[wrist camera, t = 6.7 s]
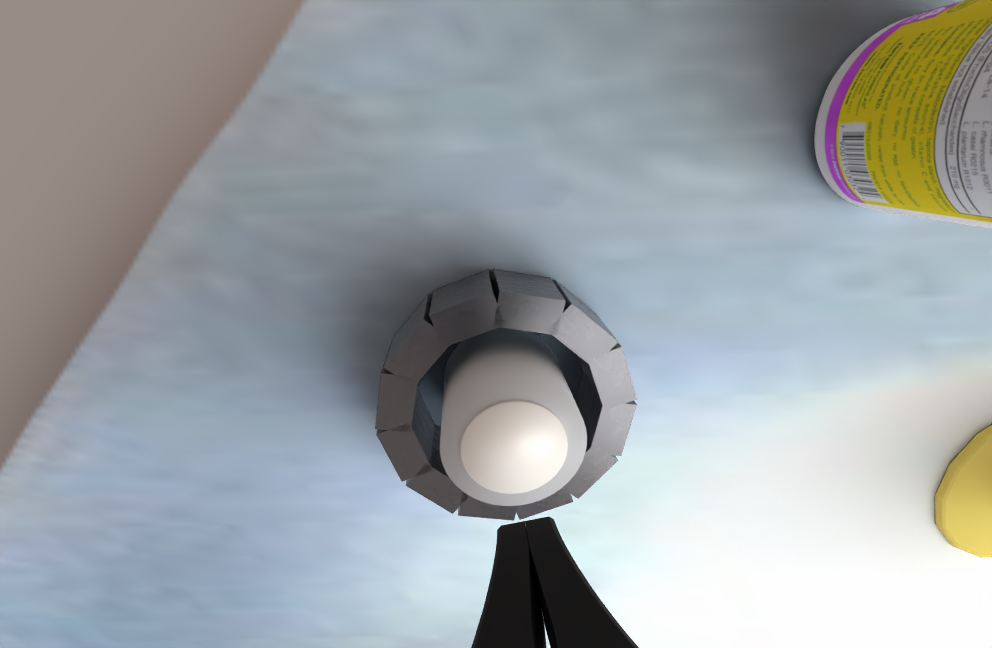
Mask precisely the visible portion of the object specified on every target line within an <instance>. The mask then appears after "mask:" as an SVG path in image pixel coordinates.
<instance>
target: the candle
mask: <svg viewBox="0 0 992 648" xmlns="http://www.w3.org/2000/svg"><path fill="white" fill-rule="evenodd" d="M935 523H936V525H937V526H938V528H939V529H940V530H941V532H942V533H943V535H944V536H945V538H946V539H947V541H948V542H949V543H950V544H951V545H952V546H954V547H957V548H959V549H962V550H964V551H966V552H969V553H971V554H974V555H976V556H979V557H992V425H990V426H989V427H987V428H985V429H984V430H982V431H981V432H979V433H978V434H977V435H976V436H975V437H974V438H973V439H972V440H971V441H970V442H969V443H968V444H967V446H966V447H965V448H964V449H963V450H962V451H961V452H960V453H959V454H958V455H957V457H956V458H955V459H954V460H953V461H952V462H951V463H950V464H949V466H948V468H947V471H946V473H945V475H944V477H943V479H942V482H941V484H940V486H939V488H938V490H937V493H936V495H935Z"/></svg>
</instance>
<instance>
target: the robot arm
mask: <svg viewBox="0 0 992 648" xmlns="http://www.w3.org/2000/svg"><path fill="white" fill-rule="evenodd" d="M525 524H526V525H525ZM542 614H543V615H542ZM543 619H544V620H543ZM544 624H545V628H546V631H547V635H548V639H549V643H550V646H551V648H639V647H638V646H637V645H636V644H635V643H634V642H633V640H632V639H631V638H630V637H629V636H628V635H627V633H626V632H625V631H624V630H623V629H622V627H621V626H620V625H619V624H618V622H617V621H616V620H615V618H614V617H613V616H612V615H611V613H610V612H609V611H608V609H607V608H606V607H605V605H604V604H603V603H602V601H601V600H600V599H599V597H598V596H597V594H596V593H595V592H594V590H593V589H592V587H591V586H590V584H589V583H588V581H587V580H586V578H585V577H584V575H583V574H582V572H581V571H580V569H579V568H578V566H577V564H576V563H575V561H574V559H573V558H572V556H571V554H570V553H569V551H568V549H567V547H566V545H565V544H564V542H563V540H562V538H561V536H560V534H559V531H558V529H557V527H556V524H555V521H554V519H552V518H550V517H544V518H539V519H534V520H529V521H523V522H518V523H513V524H508V525H502V526H500V528H499V529H498V530H497V545H496V553H495V559H494V565H493V570H492V575H491V579H490V584H489V588H488V592H487V596H486V601H485V604H484V608H483V612H482V615H481V618H480V622H479V625H478V628H477V631H476V635H475V638H474V641H473V644H472V647H471V648H546V638H545V628H544Z"/></svg>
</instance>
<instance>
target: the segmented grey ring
mask: <svg viewBox="0 0 992 648" xmlns="http://www.w3.org/2000/svg"><path fill="white" fill-rule="evenodd" d="M499 327H501V328H508V329H516V330H523V331H530V332H537V333H544V334H551V335H553V336H554V337H555V338H556V339H558V340H559V341H560V342H562V343H563V344H564V345H565V346H567V347H568V348H569V349H570V350H572V351H573V352H574V353H576V354H577V355H578V356H579V358H580V361H581V364H582V367H583V370H584V372H583V376H582V380H581V383H580V387H579V391H578V395H577V399H576V405H577V407H578V409H579V411H580V414H581V416H582V418H583V420H584V424H585V427H586V433H587V446H586V452H585V455H584V458H583V461H582V463H581V465H580V467H579V469H578V471H577V472H576V474H575V475H574V476H573V477H572V479H571V480H570V481H569V482H568V483H567V484H566V485H565V486H563V487H562V488H561V489H560V490H558V491H557V492H555V493H554V494H552V495H550V496H548V497H546V498H544V499H542V500H539V501H536V502H533V503H530V504H525V505H517V506H500V505H493V504H489V503H485V502H482V501H479V500H477V499H475V498H473V497H471V496H469V495H467V494H466V493H464V492H463V491H462V490H460V489H459V488H458V487H457V486H456V485H455V484H454V483H453V481H452V480H451V479H450V478H449V476H448V474H447V473H446V471H445V469H444V466H443V464H442V460H441V456H440V435H441V428H440V427H438V426H437V425H435V424H434V422H433V420H432V418H431V416H430V414H429V412H428V410H427V408H426V405H425V403H424V401H423V399H422V397H421V395H420V393H419V391H418V383H419V380H420V379H421V378H422V377H423V376H424V375H425V373H426V372H427V371H428V370H429V369H430V368H431V366H432V365H433V364H434V363H435V362H436V361H437V359H438V358H439V357H440V356H441V355H442V354H443V352H444V351H445V350H446V349H447V348H448V347H449V345H452V344H455V343H458V342H460V341H463V340H466V339H469V338H471V337H474V336H477V335H480V334H482V333H485V332H488V331H490V330H493V329H496V328H499ZM636 399H637V398H636V394H635V391H634V388H633V384H632V381H631V377H630V374H629V370H628V367H627V364H626V360H625V357H624V353H623V350H622V347H621V345H620V344H619V343H618V341H617V340H616V338H615V337H614V336H613V335H612V333H611V332H610V331H609V330H608V328H607V327H606V326H605V324H604V323H603V322H602V321H601V319H600V318H599V317H598V316H597V314H596V313H594V312H593V311H592V310H591V309H589V308H588V307H587V306H586V305H585V304H583V303H582V302H581V301H580V300H579V299H577V298H576V297H575V296H574V295H573V294H571V293H570V292H569V291H568V290H567V289H565V288H564V287H563V286H562V285H561V284H559V283H558V282H557V281H555V282H554V283H553V281H552V280H551V278H547V277H540V276H534V275H528V274H521V273H515V272H508V271H502V270H495V269H494V272H493V277H492V279H491V277H490V274H489V272H488V270H486V271H484V272H481V273H478V274H476V275H473V276H470V277H467V278H465V279H462V280H459V281H457V282H454V283H451V284H449V285H446V286H443V287H441V288H438V289H435V290H433V296H431V295H430V294H428V295H427V296H426V298H425V299H424V300H423V301H422V302H421V304H420V305H419V306H418V307H417V309H416V310H415V311H414V312H413V313H412V315H411V316H410V317H409V318H408V320H407V321H406V322H405V323H404V324H403V326H402V327H401V328H400V329H399V331H398V332H397V333H396V334H395V335H394V338H393V341H392V343H391V346H390V349H389V352H388V354H387V357H386V360H385V363H384V366H383V369H382V372H381V379H380V388H379V398H378V407H377V417H376V426H375V429H378V431H377V434H376V435H377V436H378V438H379V440H380V442H381V444H382V446H383V448H384V449H385V451H386V453H387V455H388V457H389V459H390V460H391V462H392V464H393V466H394V468H395V470H396V472H397V473H398V475H399V477H400V479H401V481H405V480H407V481H406V486H407V487H409V488H411V489H412V490H414V491H416V492H417V493H419V494H421V495H422V496H424V497H426V498H427V499H429V500H431V501H432V502H434V503H436V504H437V505H439V506H441V507H442V508H444V509H446V510H447V511H449V512H451V513H452V514H453V513H454V512H455V511H456V510H457V509H458V515H459V516H470V517H481V518H492V519H503V520H514V518H515V514H516V512H517V514H518V517H519V519H520V520H521V519H524V518H526V517H529V516H532V515H535V514H538V513H541V512H544V511H547V510H550V509H553V508H556V507H559V506H562V505H565V504H568V503H571V502H573V499H572V496H571V494H572V495H574V496H575V497H576V498H579V497H580V496H582V495H583V494H584V493H585V492H586V491H587V490H588V489H589V488H590V487H591V486H592V485H593V484H594V483H595V482H596V481H597V480H598V479H599V478H600V477H601V476H602V475H603V474H605V473H606V472H607V471H608V470H609V469H610V468H611V467H612V466H613V465H614V464H615V463H616V462H617V461H618V460H617V458H616V456H615V455H617V456H621V454H622V451H623V448H624V445H625V441H626V438H627V435H628V432H629V428H630V425H631V422H632V419H633V416H634V412H635V409H636V406H637V404H636V403H635V402H634V400H636Z"/></svg>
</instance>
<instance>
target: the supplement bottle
mask: <svg viewBox="0 0 992 648" xmlns="http://www.w3.org/2000/svg"><path fill="white" fill-rule="evenodd" d="M814 143H815V153H816V159H817V162H818V165H819V168H820V171H821V173H822V175H823V177H824V179H825V180H826V182H827V183H828V185H829V186H830V187H831V188H832V189H833V190H834V191H835V192H836V193H837V194H838V195H839V196H841V197H842V198H843V199H845V200H846V201H848V202H850V203H852V204H854V205H857V206H860V207H863V208H867V209H872V210H877V211H884V212H890V213H896V214H902V215H909V216H915V217H922V218H928V219H935V220H941V221H947V222H954V223H960V224H967V225H973V226H979V227H986V228H992V0H964V1H960V2H957V3H953V4H950V5H947V6H943V7H940V8H936V9H933V10H929V11H926V12H923V13H920V14H917V15H914V16H911V17H908V18H905V19H902V20H900V21H897V22H895V23H893V24H891V25H889V26H887V27H885V28H883V29H882V30H880V31H879V32H877V33H875V34H874V35H873V36H871V37H870V38H869V39H867V40H866V41H865V42H864V43H862V44H861V45H860V46H859V47H858V48H857V49H856V50H854V51H853V53H852V54H851V55H850V56H849V57H848V58H847V59H846V60H845V62H844V63H843V64H842V65H841V66H840V68H839V69H838V71H837V72H836V74H835V75H834V77H833V78H832V80H831V82H830V83H829V85H828V87H827V90H826V92H825V95H824V97H823V100H822V103H821V105H820V108H819V112H818V116H817V120H816V126H815V136H814Z"/></svg>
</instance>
